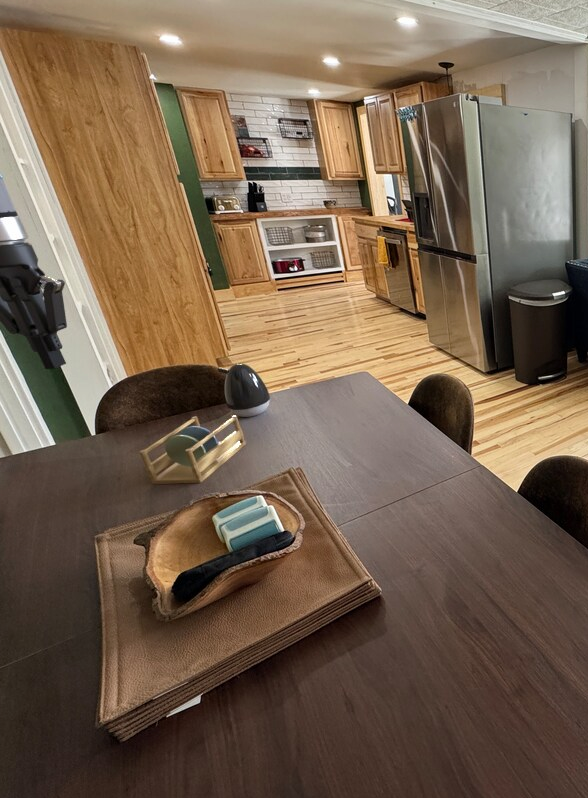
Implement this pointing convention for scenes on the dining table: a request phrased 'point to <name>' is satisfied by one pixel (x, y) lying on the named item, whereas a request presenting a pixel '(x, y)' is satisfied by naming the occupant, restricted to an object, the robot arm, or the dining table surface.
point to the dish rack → (192, 453)
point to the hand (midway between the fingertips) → (56, 366)
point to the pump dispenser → (245, 391)
